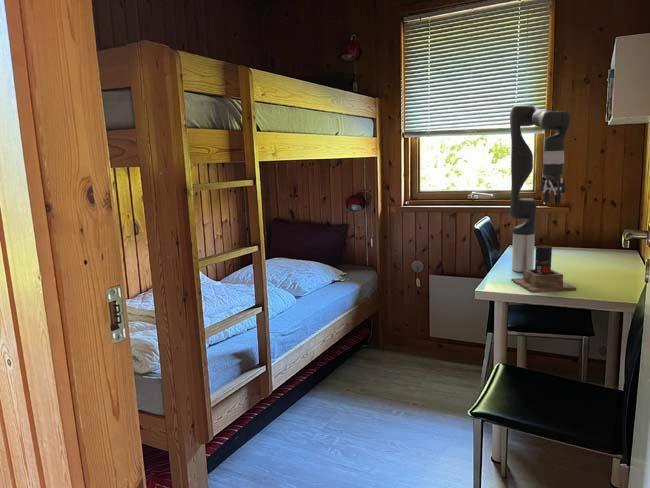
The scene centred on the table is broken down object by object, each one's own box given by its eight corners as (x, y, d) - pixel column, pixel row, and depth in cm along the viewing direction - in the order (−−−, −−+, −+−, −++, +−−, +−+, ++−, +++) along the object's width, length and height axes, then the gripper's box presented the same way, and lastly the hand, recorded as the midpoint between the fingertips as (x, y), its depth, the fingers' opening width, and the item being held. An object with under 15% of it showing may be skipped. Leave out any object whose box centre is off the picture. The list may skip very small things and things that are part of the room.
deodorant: (533, 283, 200) (534, 247, 197) (536, 280, 205) (537, 245, 202) (548, 285, 196) (550, 248, 194) (551, 282, 201) (553, 246, 199)
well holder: (511, 281, 209) (511, 268, 208) (552, 279, 210) (553, 266, 209) (531, 292, 191) (531, 278, 190) (576, 290, 192) (576, 276, 191)
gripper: (535, 163, 202) (534, 202, 205) (553, 163, 188) (551, 205, 191) (553, 162, 203) (551, 201, 205) (572, 162, 189) (570, 204, 191)
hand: (551, 203), depth 198 cm, fingers open, 8 cm apart
